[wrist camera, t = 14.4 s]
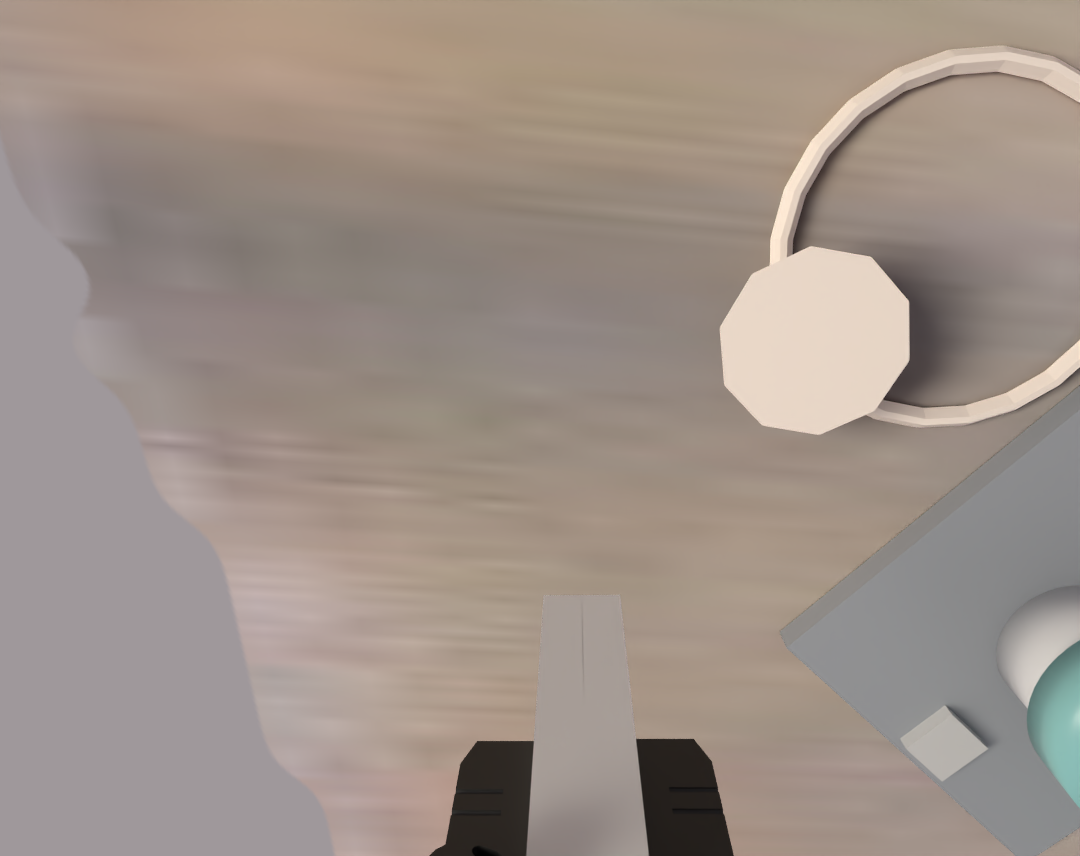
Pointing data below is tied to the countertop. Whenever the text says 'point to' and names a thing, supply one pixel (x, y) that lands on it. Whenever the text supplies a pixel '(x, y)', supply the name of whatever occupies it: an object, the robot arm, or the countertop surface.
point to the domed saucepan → (1058, 719)
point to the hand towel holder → (855, 292)
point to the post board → (968, 631)
